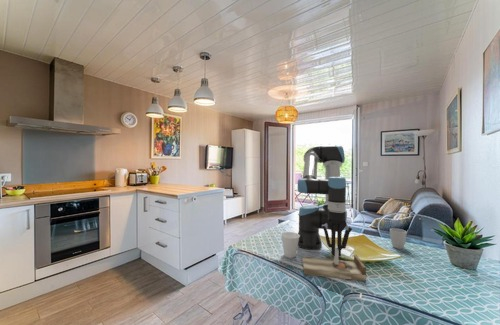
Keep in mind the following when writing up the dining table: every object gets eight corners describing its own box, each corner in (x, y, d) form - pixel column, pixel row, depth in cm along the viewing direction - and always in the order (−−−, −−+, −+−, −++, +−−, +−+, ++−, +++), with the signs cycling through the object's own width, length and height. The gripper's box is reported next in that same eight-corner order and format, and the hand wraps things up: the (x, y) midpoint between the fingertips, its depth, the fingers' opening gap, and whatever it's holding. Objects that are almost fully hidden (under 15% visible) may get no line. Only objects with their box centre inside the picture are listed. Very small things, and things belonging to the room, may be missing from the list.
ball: (334, 263, 96) (341, 259, 95) (339, 270, 96) (345, 266, 95) (336, 268, 92) (343, 263, 92) (341, 274, 92) (348, 270, 92)
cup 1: (300, 253, 112) (300, 232, 113) (299, 261, 103) (299, 239, 103) (281, 250, 115) (281, 231, 115) (279, 258, 106) (279, 237, 106)
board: (302, 261, 102) (302, 250, 103) (356, 267, 98) (356, 255, 98) (304, 274, 91) (304, 261, 91) (365, 281, 86) (366, 267, 86)
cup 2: (409, 248, 120) (409, 231, 121) (400, 250, 117) (400, 233, 118) (395, 243, 128) (395, 227, 128) (386, 245, 125) (386, 228, 125)
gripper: (322, 211, 92) (322, 265, 91) (354, 213, 89) (354, 268, 89) (320, 208, 99) (319, 257, 99) (349, 209, 97) (349, 260, 96)
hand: (336, 262), depth 94 cm, fingers closed
